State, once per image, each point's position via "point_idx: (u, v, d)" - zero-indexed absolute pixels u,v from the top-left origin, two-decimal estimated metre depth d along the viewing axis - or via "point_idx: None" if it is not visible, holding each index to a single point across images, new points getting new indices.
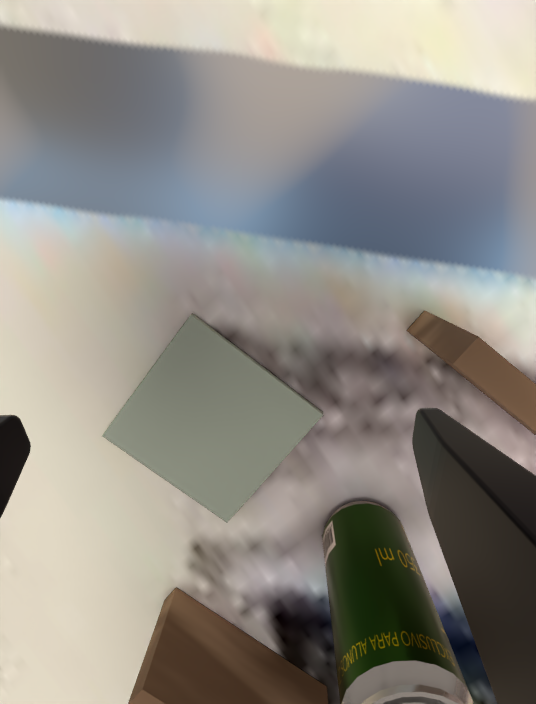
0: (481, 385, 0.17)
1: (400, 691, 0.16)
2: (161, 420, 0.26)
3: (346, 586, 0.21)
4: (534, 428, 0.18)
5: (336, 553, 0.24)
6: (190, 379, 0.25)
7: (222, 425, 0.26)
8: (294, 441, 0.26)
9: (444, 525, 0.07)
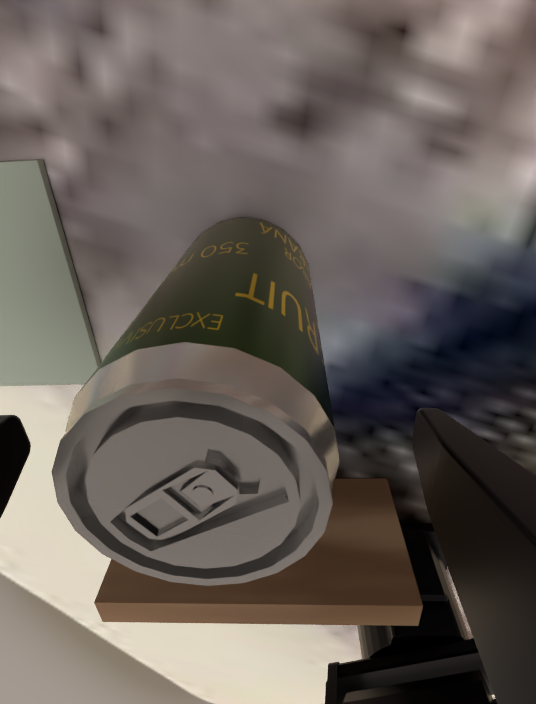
0: None
1: (66, 439, 0.07)
2: None
3: None
4: None
5: None
6: None
7: None
8: (51, 228, 0.17)
9: (444, 525, 0.07)
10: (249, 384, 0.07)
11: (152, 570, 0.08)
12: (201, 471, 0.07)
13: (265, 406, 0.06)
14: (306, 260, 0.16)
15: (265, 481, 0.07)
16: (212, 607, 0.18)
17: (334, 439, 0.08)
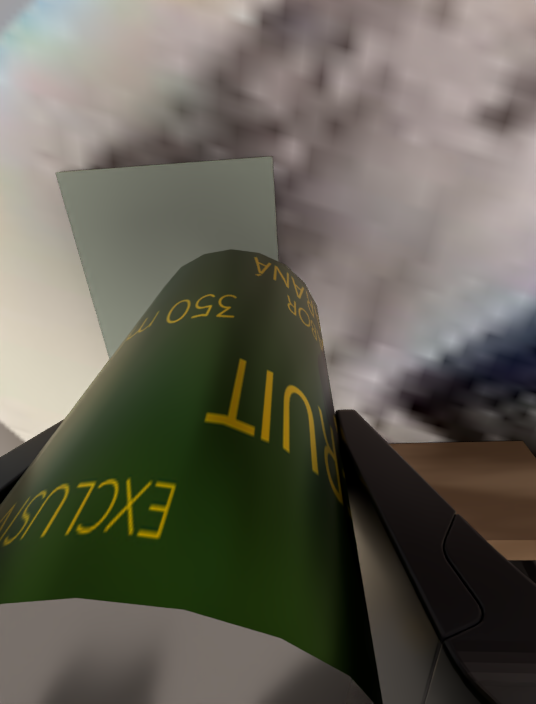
0: None
1: None
2: (137, 305, 0.22)
3: None
4: None
5: None
6: (120, 241, 0.20)
7: (190, 261, 0.21)
8: (270, 215, 0.19)
9: None
10: None
11: None
12: None
13: None
14: (314, 302, 0.13)
15: None
16: None
17: None
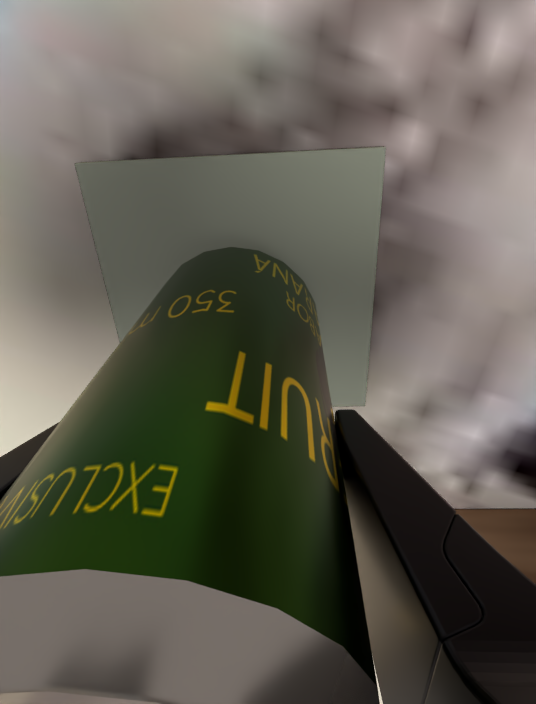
0: None
1: None
2: None
3: None
4: None
5: None
6: (160, 259, 0.15)
7: None
8: (371, 228, 0.14)
9: None
10: (213, 676, 0.03)
11: None
12: None
13: None
14: (313, 299, 0.13)
15: None
16: None
17: (376, 703, 0.04)
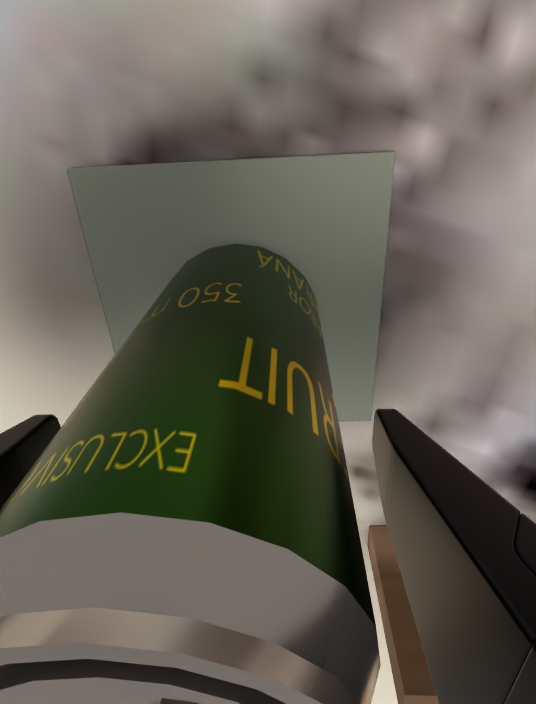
0: None
1: None
2: None
3: None
4: None
5: None
6: (157, 269, 0.14)
7: None
8: (379, 237, 0.13)
9: (395, 525, 0.08)
10: (235, 600, 0.04)
11: None
12: None
13: (261, 664, 0.03)
14: (313, 294, 0.13)
15: None
16: None
17: (375, 642, 0.05)
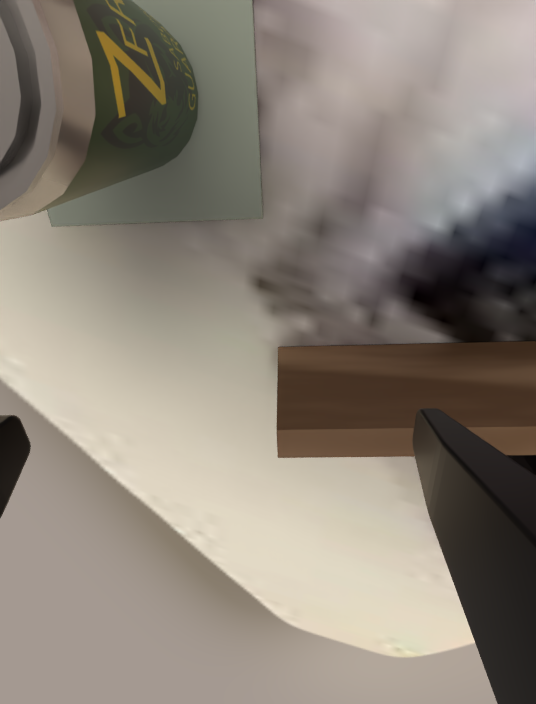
0: None
1: None
2: None
3: None
4: None
5: None
6: None
7: None
8: (245, 11, 0.15)
9: (444, 525, 0.07)
10: None
11: None
12: None
13: None
14: (189, 63, 0.15)
15: None
16: (405, 433, 0.17)
17: (73, 12, 0.07)
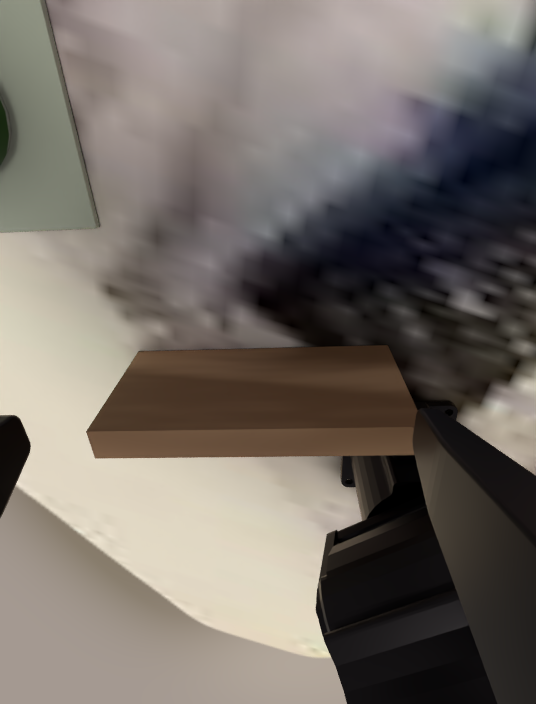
0: None
1: None
2: None
3: None
4: None
5: None
6: None
7: None
8: (41, 34, 0.16)
9: (444, 525, 0.07)
10: None
11: None
12: None
13: None
14: None
15: None
16: (207, 434, 0.17)
17: None
